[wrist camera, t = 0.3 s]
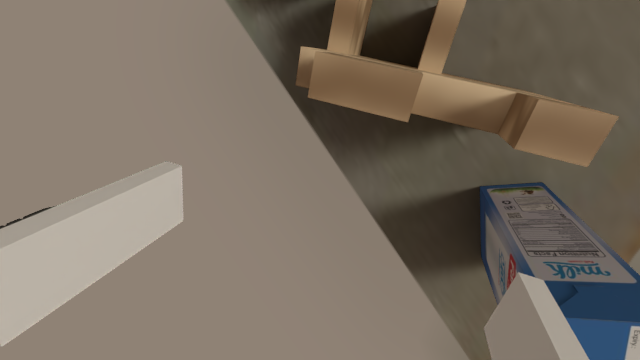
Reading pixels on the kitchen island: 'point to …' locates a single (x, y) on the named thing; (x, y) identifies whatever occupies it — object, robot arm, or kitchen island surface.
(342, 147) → the kitchen island surface
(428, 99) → the wooden post cradle
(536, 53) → the kitchen island surface
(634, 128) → the kitchen island surface
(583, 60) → the kitchen island surface
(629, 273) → the milk carton
